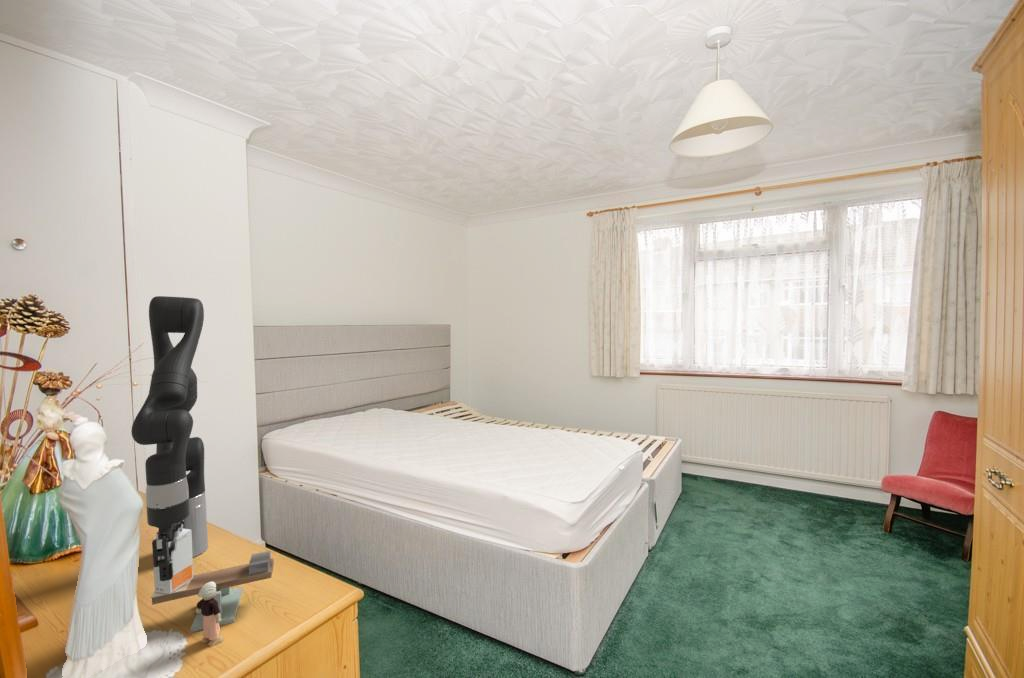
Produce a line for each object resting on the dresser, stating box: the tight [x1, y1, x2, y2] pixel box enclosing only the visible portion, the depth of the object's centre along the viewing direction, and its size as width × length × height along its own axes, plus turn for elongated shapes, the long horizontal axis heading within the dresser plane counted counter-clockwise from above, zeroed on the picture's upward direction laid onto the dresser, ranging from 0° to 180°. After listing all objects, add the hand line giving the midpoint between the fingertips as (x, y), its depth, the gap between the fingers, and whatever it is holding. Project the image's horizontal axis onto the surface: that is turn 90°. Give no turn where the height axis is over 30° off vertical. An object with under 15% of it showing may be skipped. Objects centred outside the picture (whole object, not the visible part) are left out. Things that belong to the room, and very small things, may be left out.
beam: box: [150, 550, 275, 606], centre depth 104 cm, size 7×23×5 cm, turn 112°
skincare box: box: [151, 529, 194, 594], centre depth 101 cm, size 6×4×12 cm
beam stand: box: [190, 586, 244, 633], centre depth 105 cm, size 12×8×7 cm, turn 22°
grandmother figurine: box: [195, 582, 225, 647], centre depth 95 cm, size 8×4×13 cm, turn 77°
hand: (172, 569), depth 101 cm, fingers closed on skincare box, 7 cm apart
